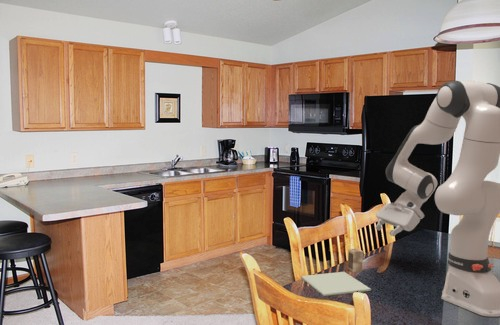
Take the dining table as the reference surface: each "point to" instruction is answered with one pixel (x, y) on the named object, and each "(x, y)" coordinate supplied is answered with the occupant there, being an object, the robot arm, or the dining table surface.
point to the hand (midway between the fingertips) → (384, 232)
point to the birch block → (355, 260)
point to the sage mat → (335, 283)
